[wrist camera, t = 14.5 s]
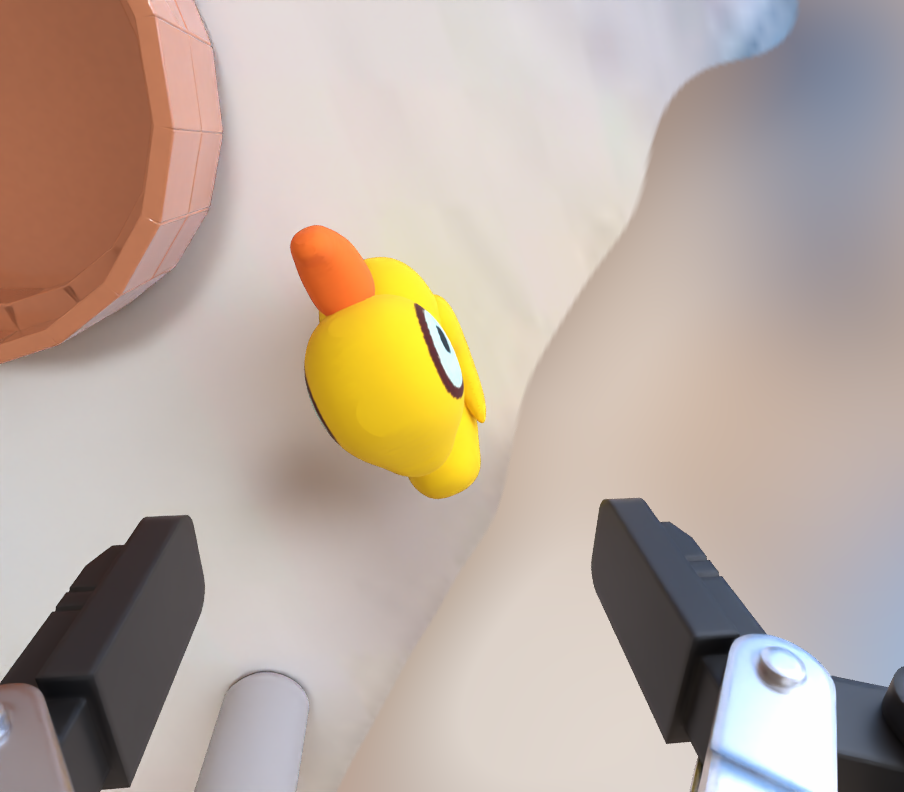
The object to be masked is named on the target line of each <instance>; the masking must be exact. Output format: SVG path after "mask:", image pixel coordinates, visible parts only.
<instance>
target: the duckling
mask: <svg viewBox="0 0 904 792" xmlns="http://www.w3.org/2000/svg"><path fill="white" fill-rule="evenodd" d="M290 249H291V254H292V257H293V260H294V262H295V265H296V268H297V271H298V273H299V276H300V279H301V281H302V283H303V285H304V287H305V289H306V291H307V293H308V294H309V296H310V298H311V300H312V302H313V303H314V305H315V306H316V307H317V309H318V310H319V322H320V323H319V324H318V326H317V327H316V328H315V330H314V331H313V333H312V335H311V337H310V339H309V342H308V345H307V349H306V353H305V363H304V371H305V381H306V386H307V391H308V394H309V398H310V400H311V403H312V406H313V408H314V410H315V412H316V414H317V416H318V418H319V420H320V422H321V423H322V425H323V426H324V428H325V429H326V431H327V432H328V433H329V435H330V436H331V437H332V438H333V439H334V440H335V441H336V442H337V443H338V444H339V445H340V446H341V447H342V448H343V449H344V450H346V451H347V452H348V453H350V454H351V455H353V456H355V457H356V458H358V459H360V460H362V461H365V462H367V463H370V464H373V465H375V466H378V467H381V468H384V469H386V470H389V471H391V472H393V473H396V474H398V475H402V476H406V477H408V478H409V480H410V481H411V483H412V484H413V486H414V487H415V488H416V489H417V490H418V491H419V492H420V493H422V494H423V495H425V496H427V497H429V498H433V499H441V498H447V497H450V496H453V495H455V494H457V493H459V492H461V491H463V490H465V489H467V488H468V487H469V486H470V485H471V484H472V483H473V482H474V481H475V479H476V478H477V476H478V474H479V470H480V464H481V459H480V448H479V438H478V426H477V421H479V422H480V423H484V421H485V418H486V405H485V398H484V394H483V390H482V386H481V383H480V380H479V377H478V374H477V371H476V368H475V365H474V362H473V359H472V356H471V354H470V351H469V348H468V345H467V342H466V340H465V337H464V335H463V332H462V329H461V327H460V324H459V322H458V320H457V318H456V315H455V314H454V312H453V310H452V308H451V307H450V305H449V304H448V303H447V302H446V301H445V300H444V299H443V298H442V297H440V296H438V295H433V294H432V292H431V290H430V289H429V287H428V286H427V285H426V283H425V282H424V281H423V279H422V278H421V277H420V276H419V275H418V274H417V273H416V272H415V271H414V270H413V269H411V268H410V267H409V266H407V265H406V264H404V263H402V262H400V261H398V260H395V259H392V258H387V257H375V258H369V259H365V260H363V258H362V257H361V256H360V254H359V253H358V251H357V250H356V249H355V247H354V246H353V245H352V244H351V243H350V242H349V241H348V240H347V239H346V238H344V237H343V236H341V235H340V234H338V233H337V232H335V231H333V230H331V229H328V228H326V227H323V226H319V225H314V226H310V227H307V228H304V229H302V230H301V231H299V232H298V233H296V234H295V236H294V237H293V238H292V241H291V245H290Z"/></svg>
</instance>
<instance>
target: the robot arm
mask: <svg viewBox="0 0 904 792" xmlns="http://www.w3.org/2000/svg"><path fill="white" fill-rule="evenodd" d="M706 557H707V556H706V555H705V554H704V553H703V551H702V550H701V549H700V547H699V546H698V545H697V543H696V542H695V541H694V540H693V538H692V537H690V536H689V535H688V534H686V533H684V532H683V531H682V530H680V529H679V528H678V527H676V526H675V525H673V524H672V523H670V522H659V520H658V519H657V518H656V516H655V515H654V513H653V512H652V511H651V509H650V508H649V506H648V505H647V504H646V502H645V501H644V500H643V499H641V498H627V499H605V500H603V501H602V503H601V504H600V508H599V514H598V520H597V527H596V534H595V541H594V548H593V555H592V562H591V568H592V569H591V570H592V579H593V584H594V587H595V590H596V593H597V595H598V597H599V599H600V601H601V604H602V606H603V608H604V610H605V612H606V614H607V617H608V619H609V621H610V623H611V625H612V628H613V630H614V632H615V634H616V636H617V638H618V640H619V643H620V645H621V647H622V649H623V651H624V653H625V656H626V658H627V660H628V662H629V664H630V666H631V669H632V671H633V673H634V675H635V677H636V679H637V681H638V684H639V686H640V688H641V690H642V692H643V694H644V696H645V699H646V701H647V703H648V705H649V707H650V710H651V712H652V714H653V716H654V718H655V720H656V723H657V725H658V727H659V729H660V731H661V733H662V735H663V738H664V740H665V742H666V744H669V743H681V742H691V743H692V745H693V747H694V749H695V751H696V753H697V755H698V759H697V762H696V765H695V769H694V774H693V778H692V783H691V787H690V792H904V667H901V668H900V669H898V670H897V672H896V673H895V675H894V677H893V679H892V681H891V683H890V685H889V687H884V686H879V685H874V684H869V683H864V682H859V681H854V680H850V679H845V678H839V677H835V676H831V675H830V674H829V673H828V672H827V670H826V669H825V668H824V666H823V665H822V664H821V663H820V662H819V661H817V659H816V658H815V657H813V656H812V655H811V654H809V653H808V652H807V651H805V650H804V649H802V648H800V647H799V646H797V645H795V644H793V643H791V642H789V641H787V640H784V639H782V638H779V637H776V636H771V635H767V634H766V633H765V631H764V630H763V629H762V628H761V626H760V625H759V624H758V623H757V621H756V620H755V618H754V617H753V616H752V615H751V613H750V612H749V611H748V609H747V608H746V607H745V606H744V604H743V603H742V602H741V600H740V599H739V598H738V596H737V595H736V594H735V593H734V591H733V590H732V589H731V587H730V586H729V585H728V584H727V582H726V581H725V580H724V578H723V577H722V576H719V572H718V571H717V569H716V568H715V567H714V565H713V564H712V563H711V562H710V560H707V558H706ZM204 594H205V582H204V575H203V570H202V565H201V560H200V555H199V550H198V545H197V540H196V535H195V530H194V525H193V522H192V519H191V518H190V517H189V516H188V515H179V516H154V517H145V518H143V519H142V520H141V521H140V523H139V524H138V526H137V527H136V529H135V530H134V531H133V533H132V534H131V536H130V537H129V539H128V540H127V542H126V543H125V545H115V546H111V547H110V548H108V549H107V550H106V551H104V552H103V553H102V554H100V555H99V556H98V557H97V558H95V559H94V560H93V561H91V562H90V563H89V564H87V565H86V566H85V568H84V569H83V570H82V572H81V573H80V574H79V576H78V577H77V579H76V580H75V581H74V583H73V584H72V585H71V587H70V591H69V592H67V593H66V594H65V595H64V596H63V598H62V599H61V600H60V602H59V603H58V605H57V606H56V611H55V612H52V613H51V614H50V616H49V617H48V618H47V620H46V621H45V622H44V624H43V625H42V626H41V628H40V629H39V631H38V632H37V633H36V635H35V636H34V637H33V639H32V640H31V642H30V643H29V644H28V646H27V647H26V648H25V650H24V651H23V652H22V654H21V655H20V657H19V658H18V659H17V661H16V662H15V663H14V665H13V666H12V668H11V669H10V670H9V672H8V673H7V674H6V676H5V677H4V679H3V680H2V681H1V683H0V792H100V791H101V790H104V789H116V788H128V787H130V786H131V783H132V781H133V778H134V776H135V773H136V771H137V768H138V766H139V764H140V761H141V759H142V756H143V754H144V751H145V749H146V746H147V744H148V741H149V739H150V737H151V734H152V732H153V729H154V727H155V724H156V722H157V719H158V717H159V715H160V712H161V710H162V707H163V705H164V702H165V700H166V697H167V695H168V692H169V690H170V688H171V685H172V683H173V680H174V678H175V675H176V673H177V670H178V668H179V666H180V663H181V661H182V658H183V656H184V653H185V651H186V648H187V646H188V643H189V641H190V639H191V636H192V634H193V631H194V629H195V626H196V624H197V621H198V619H199V617H200V614H201V611H202V607H203V602H204Z"/></svg>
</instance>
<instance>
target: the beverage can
mask: <svg viewBox="0 0 904 792" xmlns="http://www.w3.org/2000/svg"><path fill="white" fill-rule="evenodd" d="M308 713H309V700H308V698H307V696H306V693H305V692H304V690H303V689H302V688H301V687H300V685H299V684H298V683H297V682H295V681H294V680H292V679H290V678H288V677H286V676H284V675H282V674H278V673H273V672H261V673H255V674H252V675H249V676H247V677H244V678H243V679H241V680H240V681H238V682H237V683H235V684H234V685H233V686H231V687H230V689H229V690H228V691H227V692H226V694H225V696H224V699H223V702H222V705H221V708H220V711H219V715H218V718H217V721H216V724H215V727H214V730H213V734H212V737H211V740H210V743H209V746H208V749H207V753H206V756H205V759H204V762H203V765H202V768H201V772H200V775H199V778H198V781H197V784H196V787H195V791H194V792H296V790H297V783H298V777H299V771H300V764H301V758H302V752H303V745H304V739H305V732H306V726H307V720H308Z"/></svg>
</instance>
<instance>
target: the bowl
mask: <svg viewBox="0 0 904 792" xmlns="http://www.w3.org/2000/svg"><path fill="white" fill-rule="evenodd" d="M210 45H211V42H210V40H209V37H208V35H207V32H206V30H205V27H204V25H203V22H202V20H201V18H200V15H199V13H198V10H197V8H196V5H195V3H194V1H193V0H0V364H2V363H5V362H8V361H12V360H15V359H18V358H21V357H24V356H27V355H30V354H33V353H36V352H39V351H43V350H46V349H49V348H52V347H55V346H58V345H59V344H62V343H63V342H65V341H67V340H68V339H70V338H72V337H74V336H75V335H77V334H79V333H80V332H82V331H84V330H86V329H87V328H89V327H91V326H92V325H94V324H96V323H97V322H99V321H101V320H103V319H104V318H106V317H108V316H109V315H111V314H113V313H115V312H116V311H118V310H120V309H121V308H123V307H125V306H127V305H128V304H129V303H130V302H132V301H133V300H134V299H135V298H137V297H138V296H139V295H140V294H142V293H143V292H144V291H146V290H147V289H148V288H149V287H151V286H152V285H153V284H154V283H156V282H157V281H158V280H159V279H161V278H162V277H163V276H164V275H166V274H167V273H168V272H170V271H171V270H172V269H173V268H175V266H176V265H177V264H178V262H179V260H180V259H181V257H182V255H183V253H184V252H185V250H186V248H187V246H188V245H189V243H190V241H191V240H192V238H193V236H194V234H195V233H196V231H197V229H198V228H199V226H200V224H201V222H202V221H203V219H204V217H205V216H206V214H207V212H208V210H209V208H208V207H210V204H211V198H212V193H213V187H214V182H215V176H216V171H217V165H218V160H219V154H220V148H221V143H222V137H223V135H222V133H223V127H222V119H221V111H220V103H219V95H218V87H217V79H216V71H215V63H214V55H213V48H212V46H210Z"/></svg>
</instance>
